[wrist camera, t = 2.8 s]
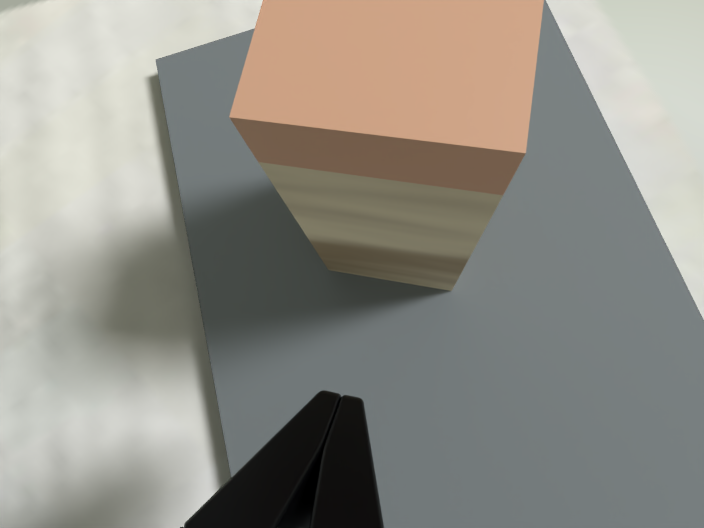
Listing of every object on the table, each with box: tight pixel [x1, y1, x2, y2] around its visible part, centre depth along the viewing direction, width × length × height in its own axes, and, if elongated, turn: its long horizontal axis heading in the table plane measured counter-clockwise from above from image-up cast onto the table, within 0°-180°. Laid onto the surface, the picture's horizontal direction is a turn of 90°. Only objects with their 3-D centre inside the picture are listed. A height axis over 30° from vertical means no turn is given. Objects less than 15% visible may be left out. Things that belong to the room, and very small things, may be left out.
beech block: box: [229, 0, 544, 291], centre depth 12 cm, size 4×4×10 cm
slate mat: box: [156, 0, 704, 528], centre depth 17 cm, size 22×16×1 cm
